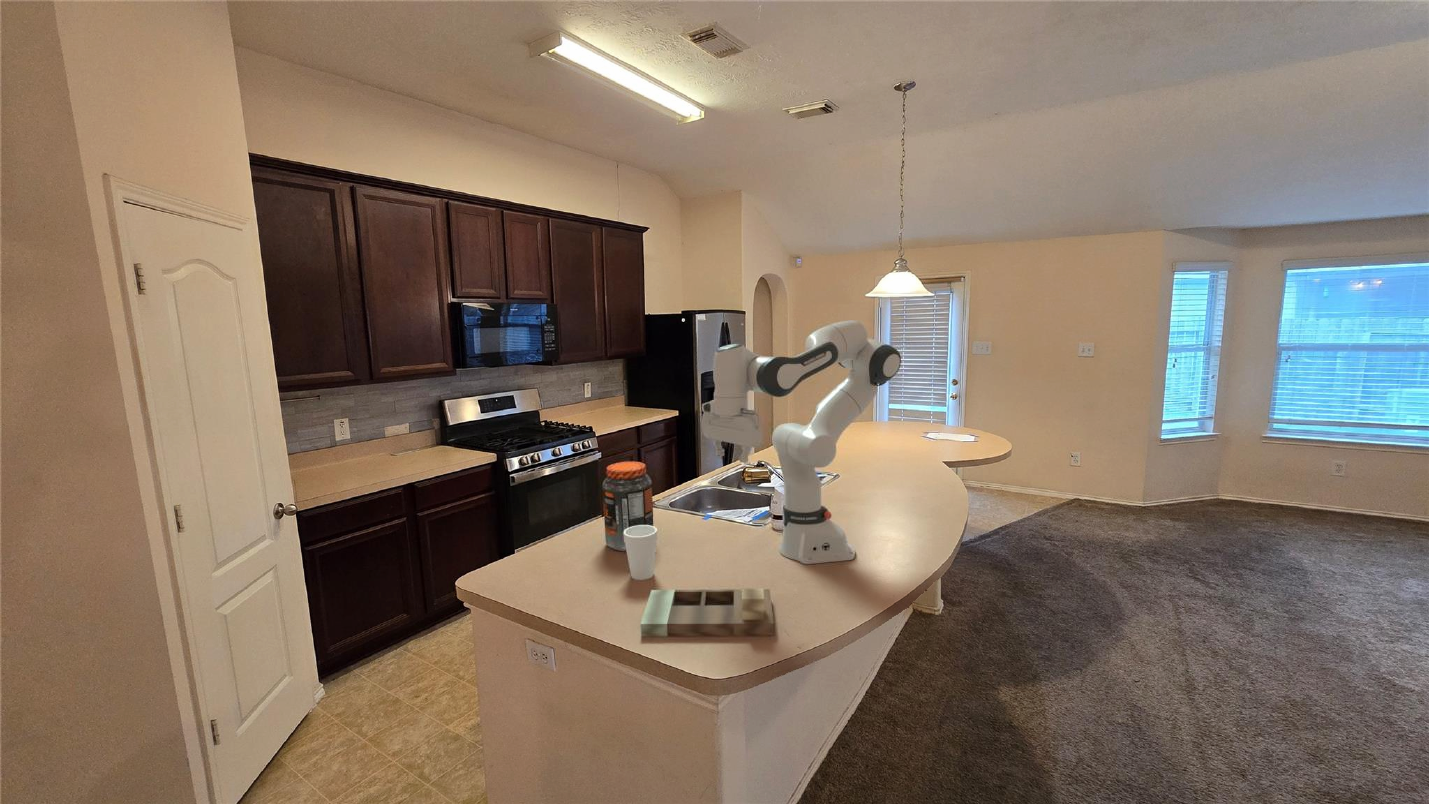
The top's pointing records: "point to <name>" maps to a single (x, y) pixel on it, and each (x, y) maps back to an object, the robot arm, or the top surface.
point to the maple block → (753, 604)
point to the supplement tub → (626, 501)
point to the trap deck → (702, 614)
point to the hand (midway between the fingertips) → (731, 458)
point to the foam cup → (641, 550)
